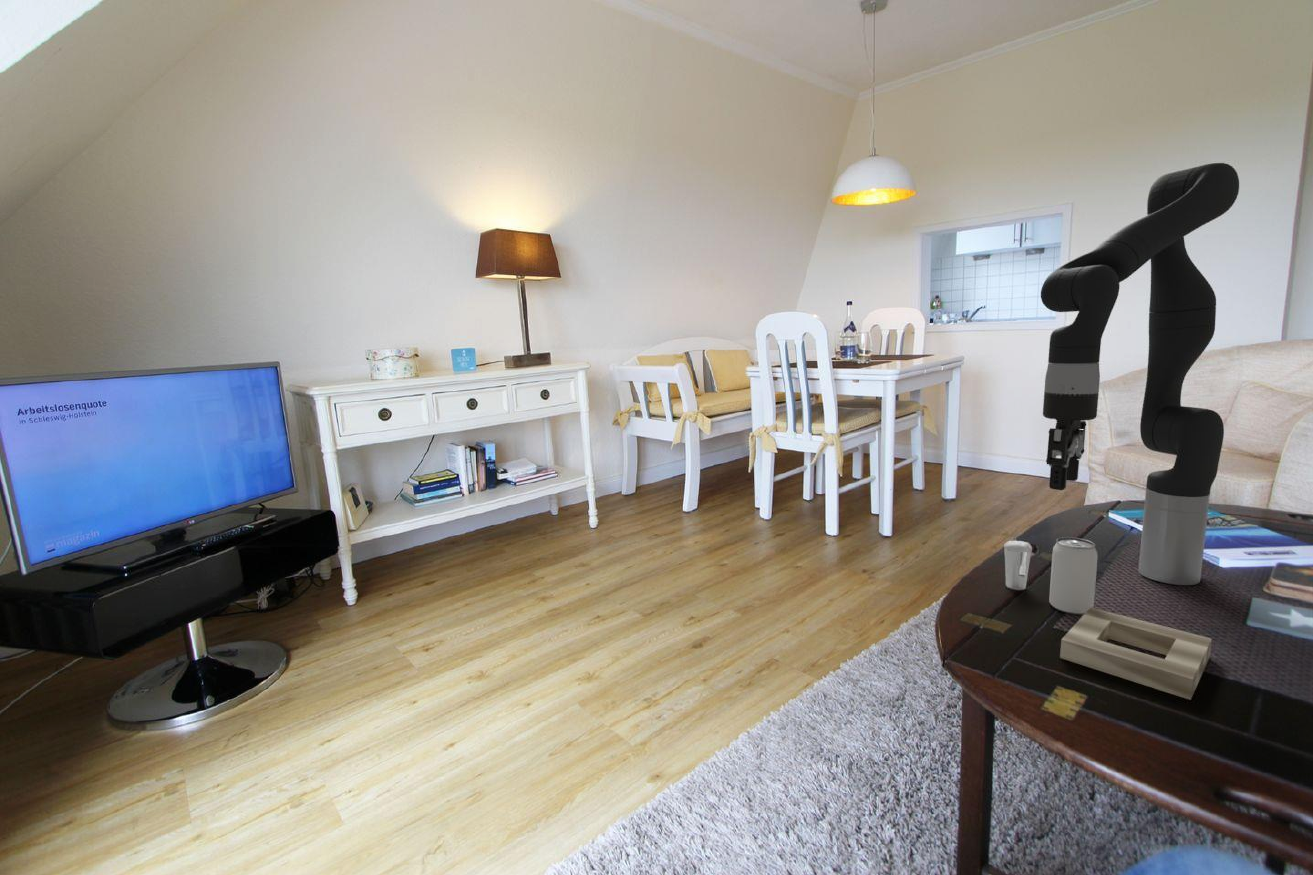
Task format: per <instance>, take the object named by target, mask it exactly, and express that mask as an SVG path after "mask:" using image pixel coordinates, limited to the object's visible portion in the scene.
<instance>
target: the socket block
mask: <svg viewBox="0 0 1313 875" xmlns="http://www.w3.org/2000/svg"><path fill="white" fill-rule="evenodd" d="M1109 640H1111V641H1115V642H1119V643H1122V644H1125V645H1129V646H1132V647H1136V648H1138V649H1143V650H1147V651H1151V652H1153V653H1156V654H1160V655H1164V656H1166V657H1165V658H1163V657H1162V658H1161V657H1158V656H1156V655H1152V654H1151V655H1150V654H1148V653H1144V652H1140V651H1137V650H1134V649H1130V648H1127V647H1123V646H1120V645H1116V644H1113V643H1110V642H1108V641H1109ZM1212 642H1213V641H1212V638H1210V637H1206V636H1203V635H1199V634H1195V633H1192V632H1188V631H1184V630H1180V629H1175V628H1173V627H1169V626H1164V625H1161V624H1157V623H1153V622H1149V621H1145V620H1143V619H1142V620H1141V619H1137V618H1134V617H1129V616H1125V615H1121V614H1119V613H1113V612H1111V611H1106V610H1102V609H1098V608H1096V607H1095V608H1094V607H1093V608H1092V607H1090V609H1089V610H1088V611H1087V612H1086V613H1085V614H1083V615H1081V617H1080V618H1079V619H1078V621H1077V622H1076V623H1075V624H1074V625H1073V626H1072V627H1071V628H1070V629H1069V631H1068V632H1067V633H1066V634H1065V635H1064V636H1063V637H1062V638H1061V640H1060V651H1059V652H1060V653H1059V658H1060V659H1062V660H1065V661H1069V662H1071V663H1074V664H1078V665H1081V666H1084V667H1086V668H1090V669H1093V670H1097V671H1100V672H1102V673H1106V674H1109V675H1111V676H1115V677H1119V678H1122V679H1124V680H1127V681H1131V682H1134V683H1136V684H1140V685H1143V686H1145V687H1150V688H1153V689H1155V690H1157V691H1161V692H1165V693H1168V694H1171V695H1173V696H1177V697H1180V698H1184V699H1186V700H1190V701H1191V700H1192V698H1193V695H1194V693H1195V691H1196V689H1197V687H1198V684H1199V682H1200V681H1201V678H1202V675H1203V673H1204V672H1205V669H1206V666H1207V664H1208V662H1209V660H1210V656H1211V648H1212Z"/></svg>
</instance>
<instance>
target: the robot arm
mask: <svg viewBox="0 0 1313 875" xmlns="http://www.w3.org/2000/svg"><path fill="white" fill-rule="evenodd" d="M1239 191H1240V178H1239V175H1238V172H1237V171H1236V169H1235V168H1234V167H1233V166H1232V165H1230V164H1229V163H1226V162H1213V163H1208V164H1207V163H1206V164H1202V165H1199V166H1195V167H1191V168H1186V169H1182V170H1177V171H1173V172H1170V173H1166V174H1163V175H1161V176H1159V177H1157V178H1155V180H1154V182H1153V183H1152V184H1151V186H1150V188H1149V191H1148V196H1147V205H1146V208H1147V210H1146V213H1147V215H1146V216H1144V217H1141V218H1138V219H1137V220H1135V221H1133V222H1131V223H1128V224H1127V225H1124V226H1123V227H1121V228H1120V229H1119V230H1117V231H1116V232H1114V233H1113V234H1111V235H1110V236H1109V237H1107V238H1106V239H1105V240H1103V241H1102V242H1101V243H1100V244H1099V245H1098V246H1096V247H1095V248H1094V249H1093V250H1091V251H1090V252H1087V253H1084V254H1082V255H1080V256H1078V257H1076V258H1075V259H1073V260H1070V261H1068V262H1066V263H1065V264H1063V265H1061V266H1060V267H1058V268H1056V269H1055V270H1053V271H1052V272H1051V273H1050V274H1049V275H1048V276H1047V277H1046V279H1045V280H1044V282H1043V284H1042V286H1041V290H1040V299H1041V302H1042V304H1043V306H1045V307H1046V308H1047V309H1048V310H1050V311H1052V312H1055V313H1071V312H1078V313H1077V315H1076V317H1075V319H1074V321H1073V322H1072V323H1070V324H1068V325H1065V326H1062V327H1058V328H1056V329H1054V330H1053V331H1052V332H1051V334H1050V336H1049V345H1048V346H1049V348H1048V358H1047V359H1048V360H1047V368H1046V372H1045V378H1044V379H1045V380H1044V391H1043V392H1044V394H1043V408H1042V415H1043V417H1044V418H1046V419H1049V420H1055V421H1056V422H1055V428H1049V430H1048V442H1047V443H1048V444H1047V453H1046V460H1045V462H1046V465H1049V467H1050V471H1049V483H1048V484H1049V489H1051V490H1058V491H1063V490H1066V487H1067V481H1070V482H1076V481H1078V478H1079V469H1080V467H1079V466H1080V460H1081V459H1082V457H1083V455H1084V453H1085V442H1086V440H1085V438H1086V426H1087V422H1086V421H1091V420H1092V421H1093V420H1094V419H1096V418H1097V417H1098V403H1099V394H1100V393H1099V392H1100V381H1101V380H1100V379H1101V378H1100V377H1101V372H1100V359H1101V358H1100V355H1101V346H1102V338H1103V336H1104V332H1105V330H1106V327H1107V325H1108V322H1109V319H1110V317H1111V314H1112V312H1113V309H1114V307H1115V305H1116V302H1117V299H1118V296H1119V292H1120V283H1121V282H1123V281H1125V280H1126V279H1128V278H1130V276H1132V275H1133V274H1134V273H1135V272H1137V271H1138V270H1139V269H1141V267H1143V266H1144V265H1145V264H1147V262H1148V261H1150V294H1149V308H1148V357H1147V372H1146V381H1145V382H1146V383H1145V390H1144V397H1143V401H1142V402H1143V403H1142V408H1141V409H1142V410H1141V417H1140V425H1139V428H1140V429H1139V430H1140V439H1141V441H1142V444H1143V445H1144V446H1145V447H1146V448H1147V449H1149V450H1150V451H1153V452H1157V453H1162V454H1167V455H1173V456H1176V457H1175V461H1174V464H1173V467H1172V468H1170V469H1166V470H1165V469H1164V470H1157V471H1152V472H1150V473H1149V474H1148V476H1147V479H1146V484H1145V485H1146V486H1145V487H1146V488H1145V495H1144V496H1145V498H1144V508H1143V517H1142V518H1143V520H1142V531H1141V541H1140V549H1139V550H1140V551H1139V560H1138V569H1137V571H1138V573H1139V574H1140V575H1141V576H1143V577H1145V578H1148V579H1150V580H1153V581H1156V582H1160V583H1163V584H1169V585H1176V586H1193V585H1197V584H1199V583H1200V582H1201V576H1202V567H1203V559H1204V550H1205V543H1206V542H1205V541H1206V533H1207V525H1208V524H1207V523H1208V514H1209V507H1210V506H1209V504H1210V503H1209V502H1210V496H1211V489H1212V485H1213V484H1214V481H1215V480H1216V478H1217V475H1218V470H1219V463H1220V458H1221V452H1222V447H1223V443H1224V437H1225V436H1224V435H1225V428H1224V427H1225V426H1224V421H1223V419H1222V417H1221V415H1220V414H1219V413H1218V412H1217V411H1215V410H1212V409H1209V408H1203V407H1193V406H1184V405H1182V404H1181V402H1182V400H1181V399H1182V389H1183V383H1184V380H1185V379H1186V375H1187V374H1188V373H1189V371H1190V369H1191V368H1192V367H1193V365H1194V364H1195V363H1196V361H1197V360H1198V359H1199V358H1200V357H1201V355H1202V354H1203V353H1204V352H1205V350H1206V348H1207V347H1208V346H1209V344H1210V343H1211V341H1212V339H1213V337H1214V335H1215V330H1216V316H1217V314H1216V313H1217V297H1216V294H1215V291H1214V289H1213V287H1212V285H1211V284H1210V282H1209V281H1208V280H1207V279H1206V277H1205V276H1204V275H1203V274H1202V272H1201V271H1200V269H1198V267H1197V266H1196V265H1195V264H1194V262H1193V260H1192V259H1191V258H1190V256H1189V254H1188V252H1187V249H1186V242H1185V237H1186V236H1188V235H1189V234H1191V233H1193V232H1194V231H1196V230H1197V229H1199V228H1201V227H1202V226H1204V225H1206V224H1208V223H1211V221H1214V220H1216V219H1217V218H1220V217H1222V216H1223V215H1224V214H1225V213H1227V212H1228V211H1229V210H1230V209H1231V208H1232V207H1233V206H1234V204H1235V202H1236V200H1237V199H1238V195H1239ZM1059 457H1060V458H1059Z"/></svg>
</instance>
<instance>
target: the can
mask: <svg viewBox="0 0 1313 875" xmlns="http://www.w3.org/2000/svg"><path fill="white" fill-rule="evenodd" d="M1098 557H1099V556H1098V551H1097V550H1096V544H1095V543H1094V542H1093V541H1091V540H1088V539H1083V538H1079V537H1073V536H1066V537H1065V536H1064V537H1059V538H1057V539H1056V543H1055V545H1053V548H1052V557H1051V558H1052V559H1051V568H1050V569H1051V570H1050V571H1051V572H1050V583H1049V585H1050V586H1049V599H1048V600H1049V604H1050V605H1051V606H1052V608H1054V609H1055V610H1058V611H1061V612H1063V613H1066V614H1070V615H1081V616H1083V615H1084V614H1085V613H1086V612H1087V611H1088V610H1089V609H1090V607H1092V608H1094V607H1095V606H1094V604H1095V594H1096V593H1095V592H1096V581H1097V580H1096V579H1097V570H1098V568H1097V567H1098Z"/></svg>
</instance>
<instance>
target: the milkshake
mask: <svg viewBox="0 0 1313 875" xmlns="http://www.w3.org/2000/svg"><path fill="white" fill-rule="evenodd" d="M1012 533H1013V535H1012V536H1013V540H1008V541H1006V542H1005V543H1004V544H1003V548H1004V550H1003V552H1004V568H1005V574H1004V575H1005V586H1006V588H1008V589H1010V590H1015V591H1024V590H1025V589H1026V588H1027V582H1028V577H1029V576H1028V575H1029V569H1030V568H1029V567H1030V561H1031V558H1032V557H1031V556H1032V551H1033V547H1032V546H1031V544H1030V543H1029V542H1027V541H1022V540H1017V532H1016V531H1013V532H1012Z"/></svg>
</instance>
